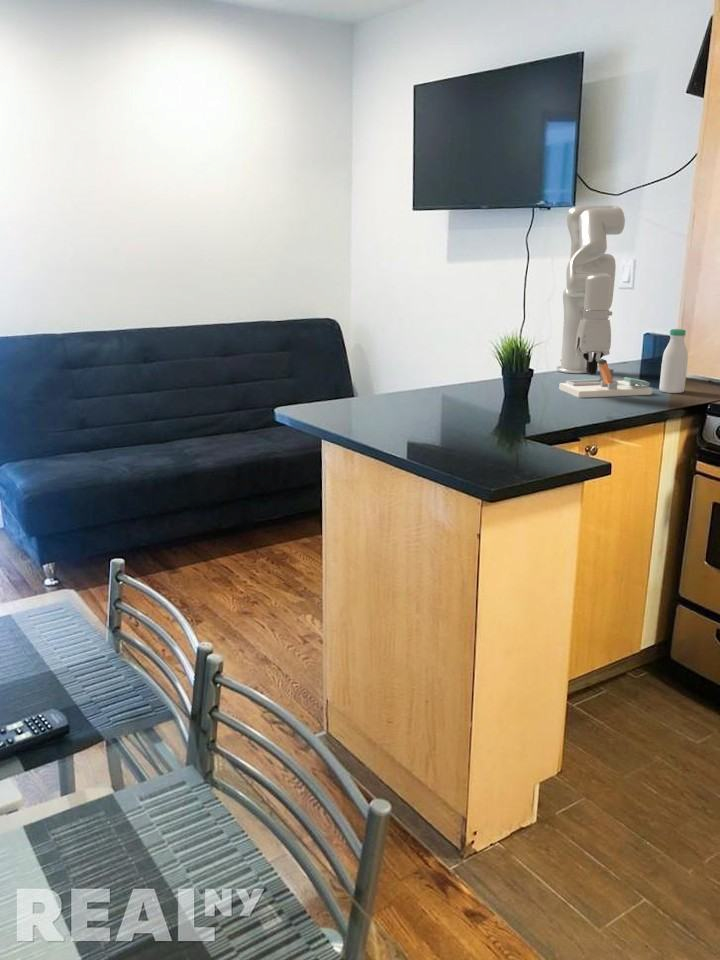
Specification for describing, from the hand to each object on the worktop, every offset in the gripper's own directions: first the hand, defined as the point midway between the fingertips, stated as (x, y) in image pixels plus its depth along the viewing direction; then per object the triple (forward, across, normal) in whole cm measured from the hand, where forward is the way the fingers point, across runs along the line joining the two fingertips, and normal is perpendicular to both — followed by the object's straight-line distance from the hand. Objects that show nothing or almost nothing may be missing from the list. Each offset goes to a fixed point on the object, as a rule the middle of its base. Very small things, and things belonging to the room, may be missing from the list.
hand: (591, 373), depth 259 cm
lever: (+3, -6, 0) cm, 7 cm away
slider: (+5, -9, -8) cm, 13 cm away
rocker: (+3, -15, +1) cm, 16 cm away
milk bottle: (+7, -28, 0) cm, 29 cm away
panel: (+7, -7, -4) cm, 10 cm away
